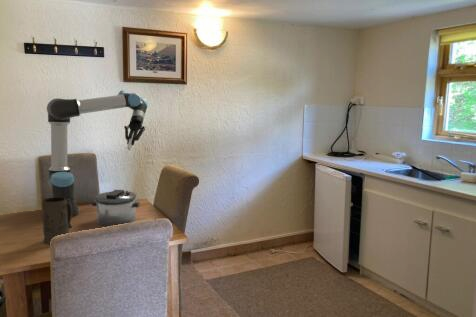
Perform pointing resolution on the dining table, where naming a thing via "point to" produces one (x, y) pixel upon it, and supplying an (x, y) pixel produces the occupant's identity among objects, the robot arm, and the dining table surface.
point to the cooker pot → (116, 213)
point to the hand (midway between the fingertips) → (128, 148)
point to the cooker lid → (115, 197)
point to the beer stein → (56, 217)
